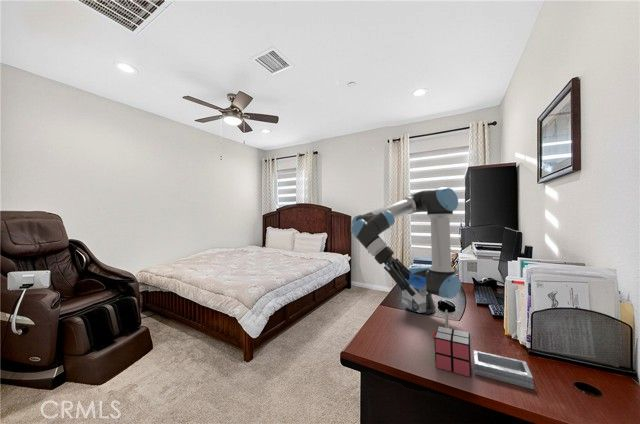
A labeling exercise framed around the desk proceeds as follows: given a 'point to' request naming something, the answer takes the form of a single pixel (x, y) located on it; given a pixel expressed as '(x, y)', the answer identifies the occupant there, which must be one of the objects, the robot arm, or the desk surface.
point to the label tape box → (420, 288)
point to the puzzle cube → (453, 351)
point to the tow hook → (445, 322)
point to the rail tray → (503, 369)
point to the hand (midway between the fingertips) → (423, 298)
